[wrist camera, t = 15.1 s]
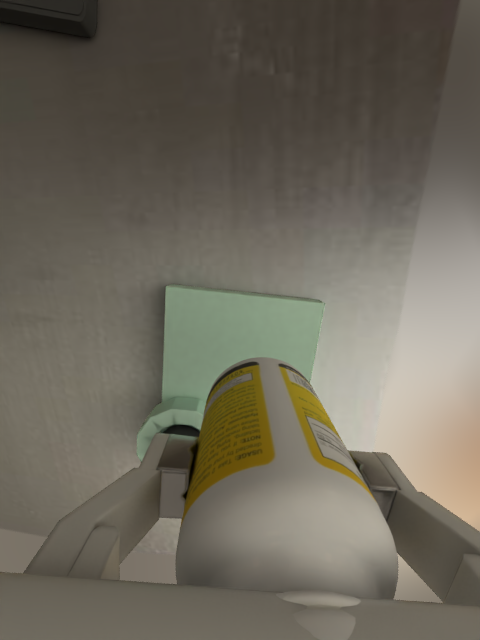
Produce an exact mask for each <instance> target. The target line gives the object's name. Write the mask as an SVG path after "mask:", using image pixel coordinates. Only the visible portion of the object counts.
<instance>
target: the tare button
mask: <svg viewBox="0 0 480 640" xmlns="http://www.w3.org/2000/svg"><path fill="white" fill-rule="evenodd" d="M163 433H165V434H176V435H185V436H194V437H198V440H199V435H200V432H199V431H198V430H197V429H195V428H193V427H191V426H187V425H175V426H172V427H170V428H168V429H166V430H165V431H164V432H163Z"/></svg>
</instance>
